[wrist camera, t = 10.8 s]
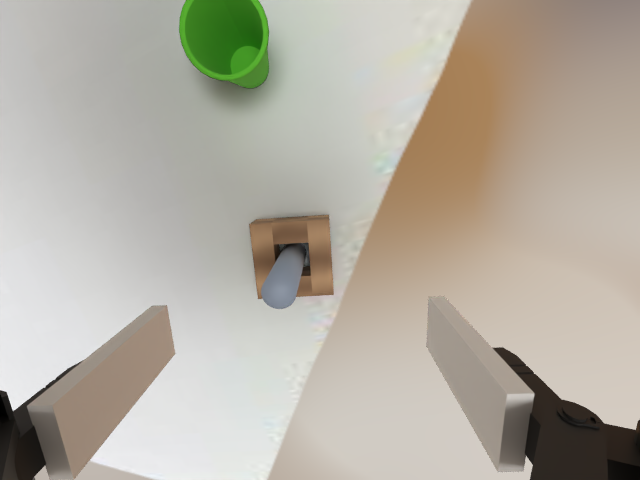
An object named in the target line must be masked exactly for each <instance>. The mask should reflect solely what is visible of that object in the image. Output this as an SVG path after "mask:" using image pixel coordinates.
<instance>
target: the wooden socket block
mask: <svg viewBox="0 0 640 480" xmlns="http://www.w3.org/2000/svg"><path fill="white" fill-rule="evenodd" d="M249 226H250V234H251V243H252V251H253V260H254V268H255V276H256V285H257V293H258V299H263V298H262V295H261V288H262V285H263V283H264V282H265V280H266V278H267V276H268V275H269V273H270V271H271V269H272V268H273V266H274V264H275V262H276V260H277V259H278V257H279V255H280V247H279V244H290V243H306V242H308V243H309V256H310V266H307V267H303V270H302V274H301V278H300V282H299V286H298V290H297V294H296V297H301V296H319V295H334V292H333V275H332V259H331V243H330V227H329V215H318V216H302V217H287V218H271V219H257V220H255V221H254V222H252V223H251V224H249Z"/></svg>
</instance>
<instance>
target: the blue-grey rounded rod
mask: <svg viewBox="0 0 640 480" xmlns="http://www.w3.org/2000/svg"><path fill="white" fill-rule="evenodd" d="M305 258H306V248H305V246H304V245H303V244H302V243H290V244H286V245H285V246H284V248H283V250H282V252H281V253H280V255H279V257H278V259H277V260H276V262H275V264H274V266H273V268H272V269H271V271H270V273H269V275H268V276H267V278H266V280H265V282H264V283H263V285H262V288H261V295H262V298H263V300H264V302H265V303H266V304H267V305H269V306H270V307H272V308H276V309H283V308H286V307H288V306H290V305H291V304H292V303H293V302H294V300H295V298H296V294H297V290H298V286H299V282H300V278H301V274H302V270H303V266H304V262H305Z"/></svg>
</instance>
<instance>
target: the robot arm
mask: <svg viewBox="0 0 640 480" xmlns="http://www.w3.org/2000/svg"><path fill="white" fill-rule="evenodd" d="M427 348H428V350H429V352H430V353H431V355H432V357H433V359H434V361H435V362H436V364H437V366H438V367H439V369H440V371H441V373H442V374H443V376H444V378H445V380H446V382H447V383H448V385H449V387H450V388H451V390H452V392H453V394H454V395H455V397H456V399H457V401H458V403H459V404H460V406H461V408H462V410H463V411H464V413H465V415H466V417H467V419H468V420H469V422H470V424H471V425H472V427H473V429H474V431H475V433H476V434H477V436H478V438H479V440H480V441H481V442H482V445H483V447H484V448H485V450H486V452H487V454H488V455H489V457H490V459H491V461H492V462H493V464H494V466H495V468H496V469H497V471H498V472H514V471H515V472H516V471H517V472H519V471H524V464H525V457H526V456H527V457H528V458H529V460H530V461H531V463H532V464H533V468H532V472H531V477H530V480H640V420H639V421H638V423H637V428H636V430H633V429H628V428H623V427H618V426H613V425H608V424H604V423H603V422H602V420H601V419H600V418H599V417H598V416H597V415H596V414H594V413H593V412H591V411H590V410H588V409H587V408H585V407H583V406H580V405H578V404H576V403H573V402H569V401H565V400H561V399H560V398H559V397H558V396H557V395H556V394H555V393H554V392H553V391H552V390H551V389H550V388H549V387H548V386H547V385H546V384H545V383H544V382H543V381H542V380H541V379H540V378H539V377H538V376H537V375H536V374H534V372H533V371H532V370H531V369H530V368H529V367H528V366H526V364H525V363H524V362H523V361H521V359H520V358H519V357H518V356H516V355H515V354H513V353H511V352H510V351H508V350H506V349H504V348H492V347H491V346H490V345H489V344H488V343H487V342H486V341H485V340H484V339H483V337H482V336H481V335H480V334H479V333H478V332H477V331H476V330H475V329H474V328H473V327H472V326H471V325H470V324H469V322H468V321H467V320H466V319H465V318H464V317H463V316H462V315H461V314H460V313H459V312H458V311H457V310H456V308H455V307H454V306H453V305H452V304H451V303H450V302H449V301H448V300H447V299H446V298H445V297H444V296H441V297H429V300H428V323H427ZM174 355H175V350H174V344H173V338H172V332H171V326H170V320H169V315H168V309H167V305H164V306H151V307H150V308H149V309H147V310H146V311H145V312H144V313H142V314H141V315H140V316H139V317H137V318H136V319H135V320H134V321H132V322H131V323H130V324H129V325H127V326H126V327H125V328H124V329H122V330H121V331H120V332H119V333H117V334H116V335H115V336H114V337H112V338H111V339H110V340H109V341H107V342H106V343H105V344H104V345H102V346H101V347H100V348H99V349H97V350H96V351H95V352H94V353H92V354H91V355H90V356H89V357H87V358H86V359H85V360H83V361H81V362H79V363H78V364H76V365H74V366H72V367H70V368H68V369H67V370H66V371H64V372H63V373H62V374H61V375H59V376H58V377H57V378H56V380H53V381H52V382H50V383H49V384H48V385H46V387H45V388H43V389H41V390H40V391H39V392H37V393H36V394H35V395H34V396H32V397H31V398H30V399H29V400H27V401H26V402H25V403H23V404H22V405H21V406H20V407H18V408H17V409H16V410H14V411H12V408H11V404H10V401H9V398H8V395H7V392H5V391H0V480H35V478H34V476H35V475H36V474H37V473H38V472H39V471H40V470H41V469H42V468H43V467H44V466H46V469H47V472H48V475H49V479H50V480H74V479H75V478H76V476H77V475H78V474H79V473H80V472H81V470H82V469H83V468H84V467H85V465H86V464H87V462H88V461H89V460H90V459H91V458H92V457H93V455H94V454H95V453H96V452H97V450H98V449H99V448H100V447H101V445H102V444H103V443H104V442H105V440H106V439H107V438H108V437H109V435H110V434H111V433H112V432H113V430H114V429H115V428H116V427H117V425H118V424H119V423H120V422H121V421H122V419H123V418H124V417H125V416H126V414H127V413H128V412H129V411H130V409H131V408H132V407H133V406H134V404H135V403H136V402H137V401H138V399H139V398H140V397H141V396H142V394H143V393H144V392H145V391H146V389H147V388H148V387H149V386H150V384H151V383H152V382H153V381H154V379H155V378H156V377H157V376H158V375H159V373H160V372H161V371H162V370H163V368H164V367H165V366H166V365H167V363H168V362H169V361H170V360H171V358H172V357H173V356H174Z"/></svg>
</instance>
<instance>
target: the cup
mask: <svg viewBox="0 0 640 480" xmlns="http://www.w3.org/2000/svg"><path fill="white" fill-rule="evenodd" d="M179 33H180V38H181V43H182V46H183V48H184V51H185V53H186V55H187V57H188V58H189V60H190V61H191V63H192V64H193V65H194V66H195V67H196V68H197V69H198V70H199V71H200V72H202V73H203V74H205V75H207V76H209V77H211V78H214V79H217V80H221V81H229V82H232V83H234V84H237V85H240V86H242V87H245V88H255V87H258V86H259V85H261V84H262V83H263V82H264V81H265V79H266V78H267V75H268V71H269V63H268V52H267V45H268V37H269V29H268V21H267V17H266V15H265V12H264V9H263V7H262V5H261V4H260V2H259V1H258V0H186V2H185V4H184V6H183V8H182V11H181V16H180V25H179Z"/></svg>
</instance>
